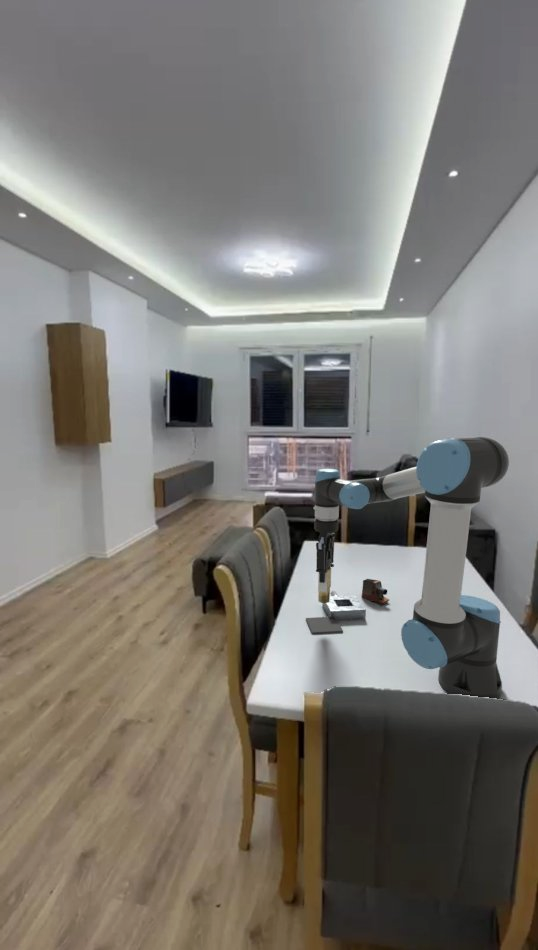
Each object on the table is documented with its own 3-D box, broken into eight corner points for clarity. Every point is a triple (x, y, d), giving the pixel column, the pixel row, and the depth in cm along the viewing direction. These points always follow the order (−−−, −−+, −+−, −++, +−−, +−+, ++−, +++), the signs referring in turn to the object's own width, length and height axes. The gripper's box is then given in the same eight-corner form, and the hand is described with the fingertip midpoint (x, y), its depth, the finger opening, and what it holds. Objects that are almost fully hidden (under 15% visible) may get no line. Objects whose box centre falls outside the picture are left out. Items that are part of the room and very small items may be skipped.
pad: (342, 632, 151) (343, 630, 150) (312, 634, 149) (312, 632, 149) (334, 618, 160) (335, 616, 160) (305, 619, 159) (305, 617, 159)
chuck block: (365, 619, 160) (365, 609, 159) (330, 621, 158) (330, 611, 158) (348, 595, 179) (348, 586, 179) (317, 596, 178) (317, 587, 177)
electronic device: (382, 606, 170) (383, 586, 169) (360, 598, 177) (361, 579, 176) (389, 602, 173) (390, 583, 172) (367, 595, 180) (368, 576, 179)
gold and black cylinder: (330, 599, 155) (332, 558, 152) (327, 603, 151) (328, 561, 149) (320, 597, 156) (321, 556, 154) (316, 601, 153) (317, 560, 150)
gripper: (322, 511, 158) (320, 578, 162) (306, 523, 143) (305, 596, 147) (344, 513, 155) (342, 581, 159) (330, 526, 140) (328, 600, 144)
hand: (324, 588), depth 153 cm, fingers closed on gold and black cylinder, 4 cm apart
